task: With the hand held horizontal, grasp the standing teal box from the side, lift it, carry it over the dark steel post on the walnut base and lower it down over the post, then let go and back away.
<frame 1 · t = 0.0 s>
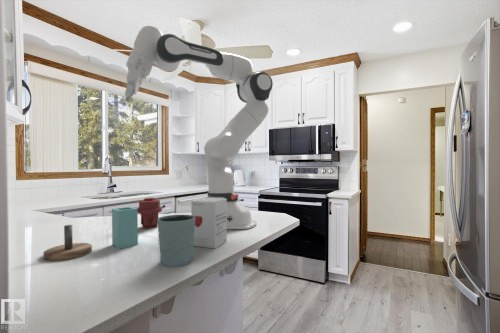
hand: (127, 98, 103), 52 cm above the counter, tool tilted 20°, fingers open, 8 cm apart
post stand: (68, 253, 81), on the counter
mechanical component: (149, 227, 115), on the counter
supplement box: (209, 244, 90), on the counter
teal cup: (177, 261, 74), on the counter
teal box: (125, 244, 90), on the counter
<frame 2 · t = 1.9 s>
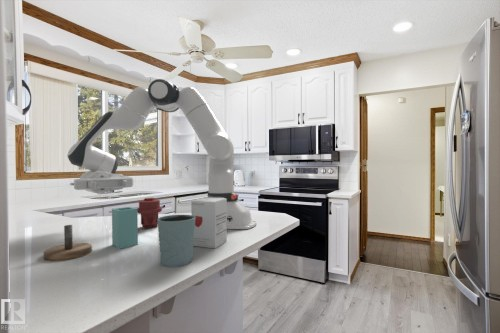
hand: (111, 184, 98), 20 cm above the counter, tool horizontal, fingers open, 8 cm apart
nothing on the counter moved.
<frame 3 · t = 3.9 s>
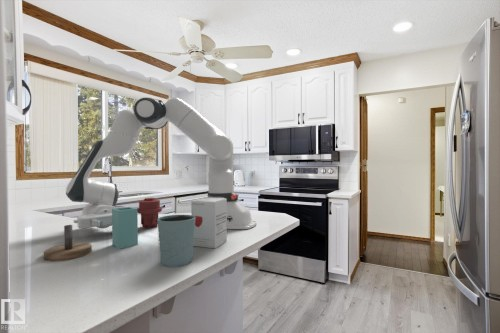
hand: (115, 221, 96), 6 cm above the counter, tool horizontal, fingers open, 8 cm apart
nothing on the counter moved.
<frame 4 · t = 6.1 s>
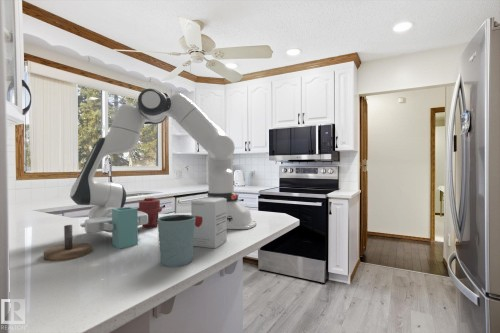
hand: (125, 225, 89), 7 cm above the counter, tool horizontal, fingers closed on teal box, 6 cm apart
teal box: (125, 244, 90), on the counter, touching gripper
everything else where it was.
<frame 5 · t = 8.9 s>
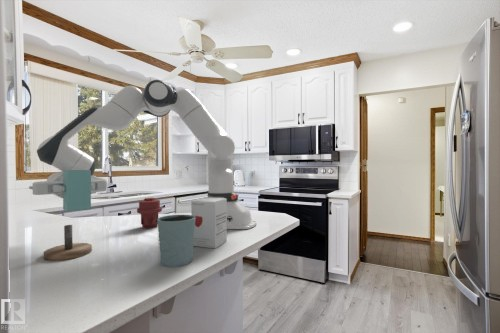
hand: (77, 188, 82), 20 cm above the counter, tool horizontal, fingers closed on teal box, 6 cm apart
teal box: (76, 209, 83), point 13 cm above the counter, touching gripper
everything else where it was.
when the fingers open (9 cm above the counter, at t = 12.0 s): teal box drops 1 cm, resting on post stand.
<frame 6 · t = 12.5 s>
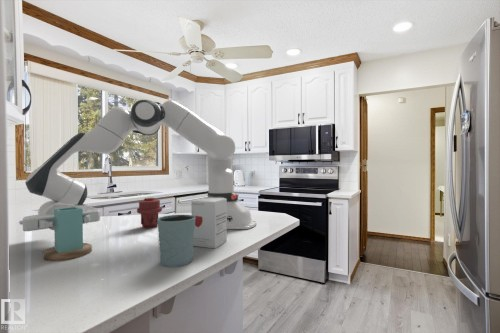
hand: (68, 222, 80), 9 cm above the counter, tool horizontal, fingers open, 8 cm apart
teal box: (68, 248, 81), point 1 cm above the counter, touching post stand
everything else where it was.
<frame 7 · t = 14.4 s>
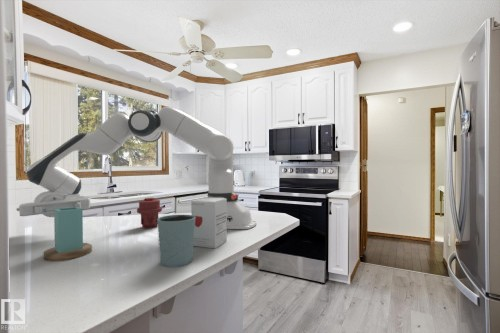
hand: (61, 208, 89), 12 cm above the counter, tool horizontal, fingers open, 8 cm apart
nothing on the counter moved.
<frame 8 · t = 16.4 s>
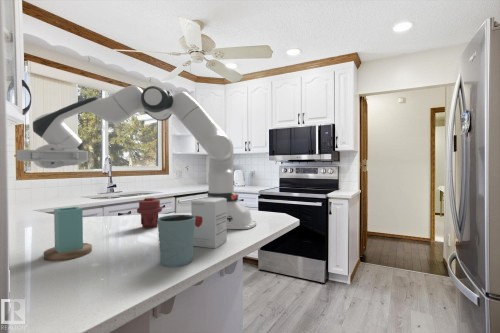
hand: (58, 155, 89), 30 cm above the counter, tool horizontal, fingers open, 8 cm apart
nothing on the counter moved.
at the end: teal box 0.1 cm from the post stand (horizontally); teal box point 1.5 cm above the counter; teal box tilted 0° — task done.
